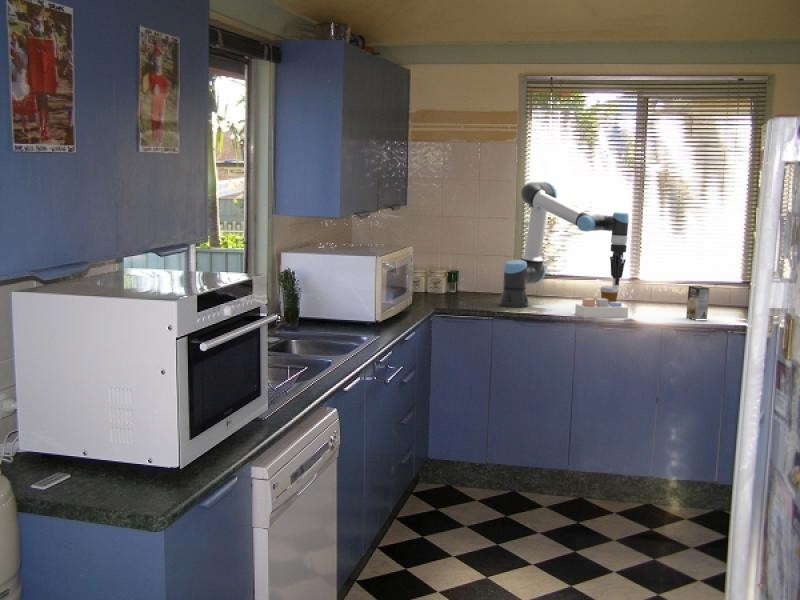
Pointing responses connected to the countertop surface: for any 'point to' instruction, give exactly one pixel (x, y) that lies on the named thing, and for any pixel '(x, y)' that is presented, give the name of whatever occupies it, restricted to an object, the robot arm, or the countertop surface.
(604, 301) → the key grey
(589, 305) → the key terracotta
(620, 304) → the key blue
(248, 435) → the countertop surface
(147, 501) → the countertop surface
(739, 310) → the countertop surface
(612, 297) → the disposable coffee cup
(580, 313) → the keypad base
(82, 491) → the countertop surface
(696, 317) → the coffee box
